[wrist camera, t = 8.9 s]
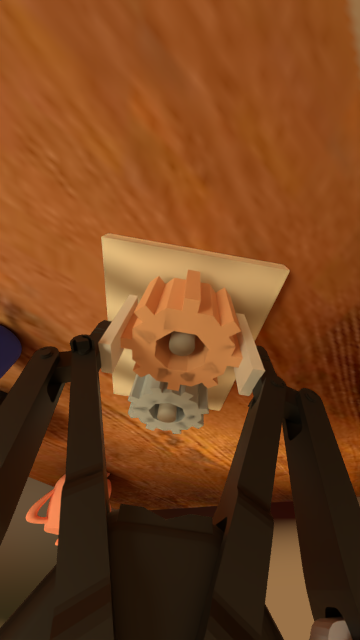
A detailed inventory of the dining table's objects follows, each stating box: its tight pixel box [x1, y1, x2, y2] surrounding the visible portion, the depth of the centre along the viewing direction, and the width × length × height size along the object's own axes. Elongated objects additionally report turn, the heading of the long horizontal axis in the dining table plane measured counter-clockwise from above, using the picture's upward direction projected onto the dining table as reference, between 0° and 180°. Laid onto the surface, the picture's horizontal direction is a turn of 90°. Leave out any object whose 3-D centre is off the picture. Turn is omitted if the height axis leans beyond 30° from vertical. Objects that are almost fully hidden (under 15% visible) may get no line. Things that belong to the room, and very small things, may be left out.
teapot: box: [26, 472, 111, 546], centre depth 48 cm, size 16×17×14 cm
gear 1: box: [120, 270, 243, 391], centre depth 16 cm, size 9×9×5 cm
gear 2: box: [128, 374, 209, 434], centre depth 23 cm, size 9×9×5 cm
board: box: [101, 233, 290, 423], centre depth 20 cm, size 22×16×7 cm
